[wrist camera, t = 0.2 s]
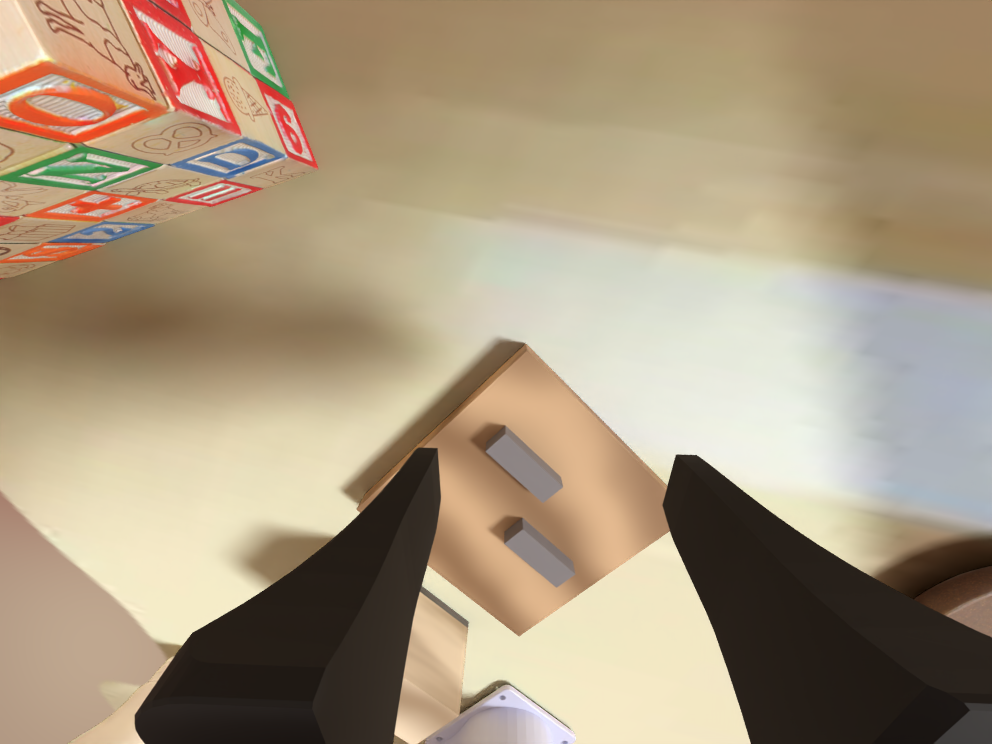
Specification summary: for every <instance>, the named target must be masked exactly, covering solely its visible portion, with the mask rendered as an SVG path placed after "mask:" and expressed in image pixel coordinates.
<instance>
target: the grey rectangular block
mask: <svg viewBox="0 0 992 744" xmlns="http://www.w3.org/2000/svg"><path fill="white" fill-rule="evenodd" d="M485 452H486V453H488V454H489V455H490V456H491V457H492V458H493V459H494V460H495V461H497V462H498V463H499V464H500V465H501V466H502V467H503V468H504V469H505V470H507V471H508V472H509V473H510V474H511V475H512V476H513V477H514V478H515V479H517V480H518V481H519V482H520V483H521V484H522V485H523V486H524V487H525V488H527V489H528V490H529V491H530V492H531V493H532V494H533V495H534V496H536V497H537V498H538V499H539V500H540V501H541V502H542V503H544V502H545V501H546V500H548V499H549V498H550V497H551V496H553V495H554V494H555V493H556V492H558V491H559V490H560V489H561V488H563V484H562V480H561V476H559V475H558V474H557V473H556V472H555V471H554V470H553V469H552V468H551V467H550V466H549V465H548V464H547V463H545V462H544V461H543V460H542V459H541V458H540V457H539V456H538V455H537V454H536V453H535V452H534V451H533V450H532V449H530V448H529V447H528V446H527V445H526V444H525V443H524V442H523V441H522V440H521V439H520V438H519V437H518V436H516V435H515V434H514V433H513V432H512V431H511V430H510V429H509V428H508V427H507V426H506V425H505V426H504V427H503V428H502V429H501V430H500V431H499V432H498V433H496V434H495V435H494V436H493V437H492V438H491V439H490V440H488V441H487V442H486V451H485Z"/></svg>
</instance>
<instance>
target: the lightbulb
mask: <svg viewBox="0 0 992 744" xmlns="http://www.w3.org/2000/svg"><path fill="white" fill-rule="evenodd" d="M173 658H174V656H173V657H171V658H169V659H168V660H167V661H166V662H165V663H164V664H163V665H162V666H161V667H160V668H159V670H158V671H157V672H156V673H155V674H154V675H153V677H152V678H151V679H150V680H149V681H148V682H147V683H146V684H144V685H142V686H141V687H139V688H138V689H137V690H136V691H135V692H134V693H133V695H132V696H131V697H130V698H129V699H128V700H127V701H126V702H125V703H124V704H123V705H122V706H121V707H120V708H119V709H117V710H116V711H115V712H114V713H113V714H111V715H110V716H109V717H108V718H106V719H105V720H104V721H102V722H101V723H99V724H98V725H96V726H94V727H93V728H91V729H89V730H88V731H86V732H84V733H83V734H81V735H79V736H78V737H76V738H75V739H73V740H72V741H70V742H69V743H68V744H145V743H144V742H143V741H142V740H141V739H140V737H139V735H138V733H137V732H136V730H135V713H136V712H137V710H138V709H139V707H140V706H141V705H142V703H143V702H144V700H145V699H146V697H147V696H148V694H149V693H150V691H151V690H152V689H153V687H154V686H155V684H156V683H157V681H158V680H159V678H160V677H161V675H162V674H163V672H164V671H165V670H166V668H167V667H168V665H169V664H170V662H171V661H172V659H173Z"/></svg>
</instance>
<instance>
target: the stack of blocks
mask: <svg viewBox="0 0 992 744" xmlns="http://www.w3.org/2000/svg"><path fill="white" fill-rule="evenodd" d="M317 170H318V166H317V164H316V161H315V159H314V156H313V154H312V151H311V148H310V146H309V143H308V141H307V138H306V136H305V133H304V131H303V128H302V126H301V123H300V121H299V118H298V116H297V113H296V111H295V108H294V106H293V104H292V102H291V101H290V98H289V96H288V94H287V91H286V88H285V86H284V83H283V81H282V78H281V76H280V73H279V70H278V68H277V65H276V63H275V60H274V58H273V55H272V52H271V50H270V47H269V45H268V42H267V40H266V37H265V34H264V32H263V29H262V27H261V25H260V24H259V23H258V22H257V21H256V20H255V19H254V18H253V17H251V16H250V15H249V14H248V13H247V12H246V11H245V10H244V9H243V8H242V7H241V6H240V5H239V4H238V3H237V2H236V1H234V0H0V280H1V279H3V278H7V277H14V276H18V275H20V274H23V273H26V272H29V271H32V270H35V269H37V268H40V267H43V266H46V265H48V264H51V263H54V262H56V261H58V260H63V259H66V258H69V257H72V256H75V255H78V254H81V253H83V252H86V251H89V250H92V249H95V248H98V247H100V246H104V245H106V243H107V242H109V241H112V240H116V239H118V238H121V237H124V236H127V235H129V234H132V233H135V232H138V231H141V230H144V229H147V228H150V227H153V226H155V225H156V224H158V223H162V222H165V221H168V220H171V219H174V218H176V217H179V216H182V215H185V214H188V213H191V212H193V211H196V210H199V209H202V208H204V207H206V206H209V207H211V206H215V205H218V204H221V203H224V202H227V201H230V200H233V199H235V198H238V197H241V196H244V195H247V194H250V193H253V192H256V191H258V190H261V189H263V188H268V187H272V186H275V185H278V184H280V183H283V182H286V181H289V180H292V179H295V178H298V177H301V176H304V175H306V174H309V173H312V172H315V171H317Z"/></svg>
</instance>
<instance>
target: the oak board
mask: <svg viewBox="0 0 992 744" xmlns="http://www.w3.org/2000/svg"><path fill="white" fill-rule="evenodd" d="M505 425H506V426H507V427H508V428H509V429H510V430H511V431H512V432H513V433H514V434H515V435H516V436H518V437H519V438H520V439H521V440H522V441H523V442H524V443H525V444H526V445H527V446H528V447H529V448H530V449H532V450H533V451H534V452H535V453H536V454H537V455H538V456H539V457H540V458H541V459H542V460H543V461H544V462H545V463H547V464H548V465H549V466H550V467H551V468H552V469H553V470H554V471H555V472H556V473H557V474H558V475H559V476H561V480H562V484H563V488H561V489H560V490H559V491H558V492H556V493H555V494H554V495H553V496H551V497H550V498H549V499H548V500H546V501H545V502H544V503H542V502H541V501H540V500H539V499H538V498H537V497H536V496H534V495H533V494H532V493H531V492H530V491H529V490H528V489H527V488H525V487H524V486H523V485H522V484H521V483H520V482H519V481H518V480H517V479H515V478H514V477H513V476H512V475H511V474H510V473H509V472H508V471H507V470H505V469H504V468H503V467H502V466H501V465H500V464H499V463H498V462H497V461H495V460H494V459H493V458H492V457H491V456H490V455H489V454H488V453H486V452H485V451H486V442H487V441H488V440H490V439H491V438H492V437H493V436H494V435H495V434H496V433H498V432H499V431H500V430H501V429H502V428H503V427H504V426H505ZM418 447H422V448H438V459H439V474H440V489H441V503H440V510H439V517H438V523H437V530H436V534H435V538H434V541H433V545H432V549H431V553H430V556H429V560H428V564H427V565H428V566H429V567H431V568H432V569H433V570H435V571H436V572H437V573H438V574H440V575H441V576H442V577H444V578H445V579H446V580H447V581H449V582H450V583H451V584H453V585H454V586H455V587H456V588H458V589H459V590H460V591H461V592H463V593H464V594H465V595H467V596H468V597H469V598H470V599H472V600H473V601H474V602H476V603H477V604H478V605H479V606H481V607H482V608H483V609H485V610H486V611H487V612H488V613H490V614H491V615H492V616H494V617H495V618H496V619H497V620H499V621H500V622H501V623H502V624H504V625H505V626H506V627H508V628H509V629H510V630H511V631H513V632H514V633H515V634H517V635H518V636H520V635H522V634H523V633H524V632H526V631H527V630H529V629H530V628H532V627H533V626H534V625H536V624H537V623H539V622H540V621H542V620H543V619H544V618H546V617H547V616H549V615H550V614H552V613H553V612H555V611H556V610H557V609H559V608H560V607H562V606H563V605H565V604H566V603H567V602H569V601H570V600H572V599H573V598H575V597H576V596H577V595H579V594H580V593H582V592H583V591H585V590H586V589H587V588H589V587H590V586H592V585H593V584H595V583H596V582H597V581H599V580H600V579H602V578H603V577H605V576H606V575H607V574H609V573H610V572H612V571H613V570H615V569H616V568H617V567H619V566H620V565H622V564H623V563H625V562H626V561H627V560H629V559H630V558H632V557H633V556H635V555H636V554H637V553H639V552H640V551H642V550H643V549H645V548H646V547H647V546H649V545H650V544H652V543H653V542H655V541H656V540H658V539H659V538H660V537H662V536H663V535H665V534H666V533H668V532H669V531H670V529H669V526H668V523H667V520H666V516H665V513H664V509H663V506H662V504H663V501H664V497H665V493H666V490H667V485H666V484H665V483H664V482H663V481H662V480H661V479H660V478H659V477H658V476H657V475H656V474H655V473H654V472H653V471H652V470H651V469H650V468H649V467H648V466H647V465H646V464H645V463H644V462H643V461H642V460H641V459H640V458H639V457H638V456H637V455H636V454H635V453H634V452H633V451H632V450H631V449H630V448H629V447H628V446H627V445H626V444H625V443H624V442H623V441H622V440H621V439H620V438H619V437H618V436H617V435H616V434H615V433H614V432H613V431H612V430H611V429H610V428H609V427H608V426H607V425H606V424H605V423H604V422H603V421H602V420H601V419H600V418H599V417H598V416H597V415H596V414H595V413H594V412H593V411H592V410H591V409H590V408H589V407H588V406H587V405H586V404H585V403H584V402H583V401H582V400H581V398H580V397H579V396H578V395H577V394H576V393H575V392H574V391H573V390H572V389H571V388H570V387H569V386H568V385H567V384H566V383H565V382H564V381H563V380H562V379H561V378H560V377H559V376H558V375H557V374H556V373H555V372H554V371H553V370H552V369H551V368H550V367H549V366H548V365H547V364H546V363H545V362H544V361H543V360H542V359H541V358H540V357H539V356H538V355H537V354H536V353H535V352H534V351H533V350H532V349H531V348H530V347H529V346H528V345H527V344H525V345H524V346H522V347H521V348H520V349H519V350H518V351H517V352H516V353H515V354H514V355H513V356H512V357H511V358H510V359H509V360H508V361H506V362H505V363H504V364H503V365H502V366H501V367H500V368H499V369H498V370H497V371H496V372H495V373H494V374H493V375H492V376H490V377H489V378H488V379H487V380H486V381H485V382H484V383H483V384H482V385H481V386H480V387H479V388H478V389H477V390H476V391H474V392H473V393H472V394H471V395H470V396H469V397H468V398H467V399H466V400H465V401H464V402H463V403H462V404H461V405H460V406H458V407H457V408H456V409H455V410H454V411H453V412H452V413H451V414H450V415H449V416H448V417H447V418H446V419H445V420H444V421H442V422H441V423H440V424H439V425H438V426H437V427H436V428H435V429H434V430H433V431H432V432H431V433H430V434H429V435H428V436H426V437H425V438H424V439H423V440H422V441H421V442H420V443H419V444H418V445H417V446H416V447H415V448H414V449H413V450H412V451H410V452H409V453H408V454H407V455H406V456H405V457H404V458H403V459H402V460H401V461H400V462H399V463H398V464H397V465H396V466H394V467H393V468H392V469H391V470H390V471H389V472H388V473H387V474H386V475H385V476H384V477H383V478H382V479H381V480H380V481H378V482H377V483H376V484H375V485H374V486H373V487H372V488H371V489H370V490H369V491H368V492H367V493H366V494H365V495H364V497H363V499H362V500H361V502H360V504H359V506H358V507H357V509H356V510H358V511H359V512H360V513H361V512H362V511H363V510H364V509H365V508H366V507H367V506H368V505H369V504H370V503H371V502H372V501H373V500H374V498H375V497H376V496H377V495H378V494H379V493H380V492H381V491H382V490H383V488H384V487H385V486H386V485H387V484H388V483H389V482H390V480H391V479H392V478H393V477H394V476H395V474H396V473H397V472H398V471H399V470H400V468H401V467H402V466H403V465H404V463H405V462H406V461H407V460H408V458H409V457H410V456H411V454H412V453H413V452H414V450H415V449H417V448H418ZM521 518H524V519H525V520H526V521H527V522H528V523H529V524H530V525H532V526H533V527H534V528H535V529H536V530H537V531H538V532H540V533H541V534H542V535H543V536H544V537H545V538H546V539H548V540H549V541H550V542H551V543H552V544H553V545H555V546H556V547H557V548H558V549H559V550H560V551H561V552H563V553H564V554H565V555H566V556H567V557H568V558H569V559H571V560H572V561H573V565H574V570H575V575H574V576H572V577H571V578H570V579H568V580H567V581H566V582H564V583H563V584H561V585H560V586H559V587H557V588H556V587H555V586H554V585H553V584H551V583H550V582H549V581H548V580H547V579H545V578H544V577H543V576H542V575H541V574H539V573H538V572H537V571H536V570H535V569H534V568H532V567H531V566H530V565H529V564H528V563H526V562H525V561H524V560H523V559H522V558H520V557H519V556H518V555H517V554H516V553H515V552H513V551H512V550H511V549H510V548H509V547H507V546H506V545H505V544H504V532H505V531H506V530H507V529H508V528H510V527H511V526H512V525H514V524H515V523H516V522H517V521H519V520H520V519H521Z"/></svg>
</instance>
